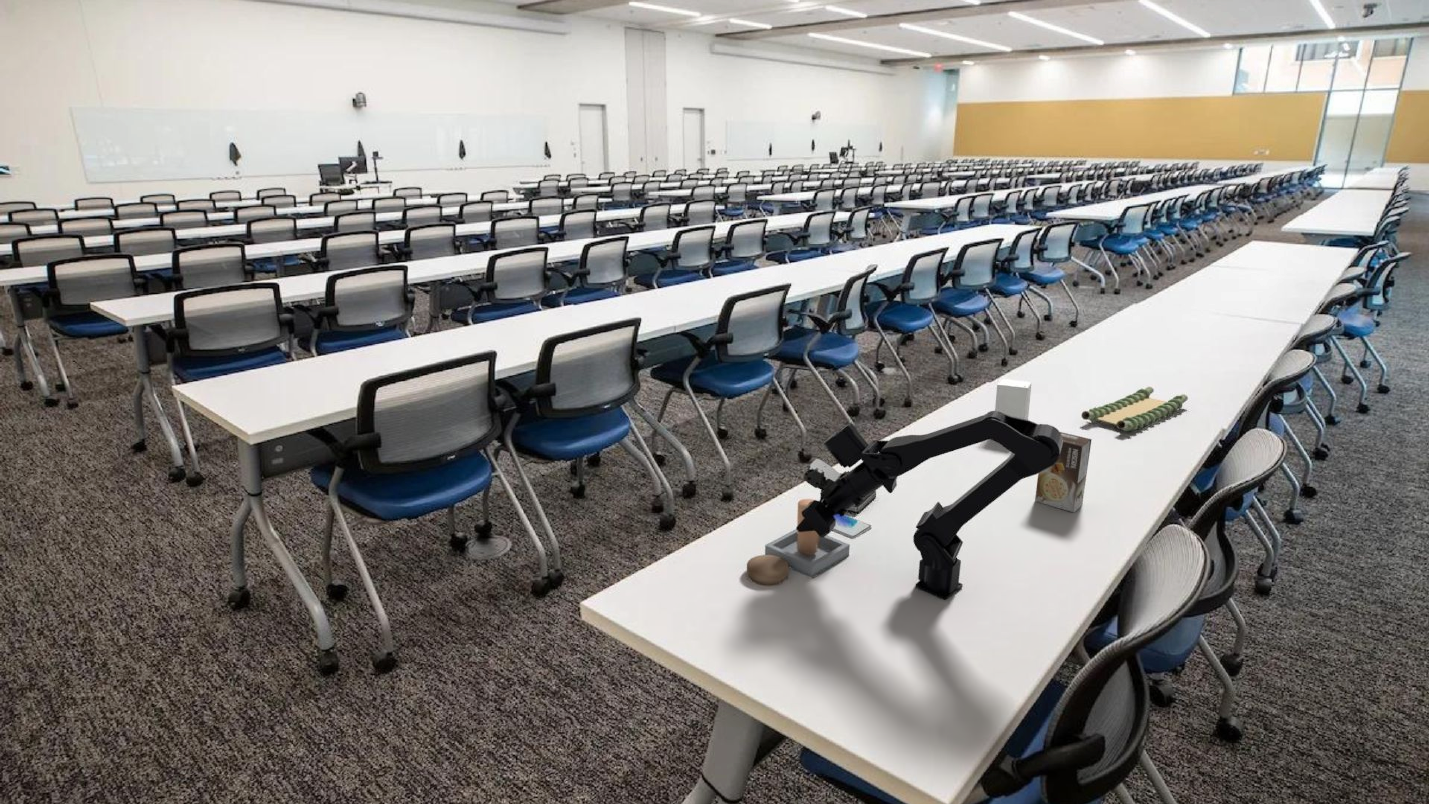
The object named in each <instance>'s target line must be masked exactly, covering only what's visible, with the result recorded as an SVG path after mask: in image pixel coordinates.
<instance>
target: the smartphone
mask: <svg viewBox="0 0 1429 804" xmlns="http://www.w3.org/2000/svg"><path fill="white" fill-rule="evenodd" d="M834 518H835V519H836V525H835V527H834V528H833V529H832V530H833V532H835V533H837V534H840V533H841V534H840V535H842V534H843V535H842V536H845V537H847V536H848V537H847V538H850V539H857V538H859V537H860V536H861V534H862V535H863V534H865V533H866V532H868V531H870V530H871V529H872V525H871V524H869V523H866V522H864V521H861V520H858V519H856V518H853V517H850V516H847V515H846V514H845V515H843V516H842V517H841V516H840V515H839V514H837V515H834ZM856 537H857V538H856Z"/></svg>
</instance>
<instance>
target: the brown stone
mask: <svg viewBox="0 0 1429 804" xmlns="http://www.w3.org/2000/svg"><path fill="white" fill-rule="evenodd" d="M746 577H747V579H748V580H750V581H751V582H752V583H754V584H758V585H761V586H776V585H780V584H782V583H784V582H785V581H786V580H788V577H789V567H788V563H787V562H786V561H785V560H784V559H782V558H780V557H778V556H773V555H765V554H762V555H761V554H760V555H756V556H753V557H751V558H750V559H749V560H748V561H747V562H746Z"/></svg>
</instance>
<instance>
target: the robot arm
mask: <svg viewBox="0 0 1429 804" xmlns="http://www.w3.org/2000/svg"><path fill="white" fill-rule="evenodd" d="M1060 432H1061V431H1060V430H1059V429H1058V428H1057V427H1055V426H1054V425H1051V424H1042V423H1036V422H1033V421H1031V420H1029V419H1028V420H1026V419H1021V418H1017V417H1013V416H1009V415H1006V414H1004V413H1002V412H999V411H995V410H991V411H989V412H987V413H985V414H984V415H983V414H982V415H980V416H977V417H974V418H970V419H968V420H965V421H962V422H960V423H959V422H958V423H956V424H953V425H950V426H948V427H945V428H941V429H938V430H935V431H933V432H929V433H926V434H909V435H908V434H907V435H902V436H901V435H900V436H896V437H892V438H890V439H889V440H883V439H882V440H881V439H879V440H876V439H874V440H871V441H870V442H869V443H868V442H867V441H866V440H865V438H864V437H863V436H862V434H861V433H860V432H859V431H858V429H857V427H856V426H855V425H854V424H853V422H849V424H847V425H845V426H843V428H842V427H841V428H839V429H838V430H837V431H836V432H834V433H833V434H832V435H831V436H829V438H827V439H826V440H824V442H823V443H822V445H823V446H824V448H825V449H826V450H827V451H828V452H829V454H830V455H831V456H832V457H833V458H834V459H835V461H836V462H837V464H839V465H840V466H841V467H842V468H844V469H846V468H847V467H848V468H851V467H853V466H855V465H856V464H857V463H858V462H859V461H862V462H861V463H859V464H858V465H856V466H855V467H854V468H852V469H850V470H847V471H846V470H845V471H843V472H842V473H841V472H839V471H837V470H836V469H835V468H834V467H833V466H831V465H829V464H828V463H826V462H825V461H823V460H821V459H818V458H816V459H814V460H813V461H812V462H811V463H810V464H809V466H808V467H807V470H806V471H805V472H804V475H803V480H804V481H805V482H806V483H807V484H808V485H810V486H812V487H813V488H815V489H819V490H820V493H819V494H820V498H819V500H818V499H817V500H816V499H813V500H814V501H812V502H810V503H809V504H808V505H807V506H806V507H805V508H804V510H803V511H802V512H801V513H802V516H803V517H804V519H803V520H802V521H801V523H800V524H799V525H798V526H797V525H796V528H795V529H797V530H798V532H806V531H816V533H817V534H818V535H819V536H820V537H822V538H823V537H825V536H826V535H829V534H830V533H831V532H832V529H833V528H834V527H835V525H836V519H835V518H834V515H837V514H839V515H840V516H841V517H842V516H843V515H845V516H846V514H847V513H848V512H847V510H849V509H850V508H852V507H853V506H855V505H856V506H857V505H859V504H860V503H861V502H862V501H863V499H864V498H866V497H867V496H869V495H870V494H871V493H873V492H874V491H876V492H877V490H878V489H880V488H881V487H883V488H884V489H885V490H886V491H887V493H888V494H892V493H893V492H894V490H895V489H896V487H897V485H898V484H897V479H898V477H900V476H902V475H904V474H905V473H908V472H909V471H911V470H914V469H915V468H916V467H919V465H921V464H922V463H925V462H926V461H928V460H930V459H931V458H935V457H938V456H942V455H945V454H947V453H950V452H954V451H957V450H960V449H964V448H967V447H970V446H973V445H976V444H979V443H982V442H985V441H989V440H991V441H994V442H995V443H997V444H999V445H1001V446H1002V447H1003V448H1005V449H1006V450H1008V451H1009V452H1011V453H1010V455H1009V456H1008V457H1007V458H1006V459H1005V460H1004V461H1003V462H1001V463H1000V464H999V465H998V466H996V467H995V468H994V469H993V470H992V471H990V472H989V473H988V474H987V475H986V476H984V477H982V479H981V480H979V481H978V482H977V483H976V484H975V485H973V486H972V487H971V488H970V489H968V490H967V491H966V492H965V493H963V494H962V495H961V496H960V497H958V499H957V500H955V501H954V502H953V503H950V504H948V505H946V506H943V505H942V504H941V503H940V501H937V502H936V503H935V504H934V506H933V507H932V508H931V509H930V510H927V511H924V512H923V514H922V515H921V518H919V521H918V522H917V524H916V526H915V528H916V531H915V532H914V534H913V538H912V539H913V541H912V542H913V545H914V547H915V548H916V549H917V551H919V553H920V556H921V560H919V565H918V577H917V578H918V580H919V581H917V582H916V583H915V585H914V586H915V588H917V589H919V590H922V591H924V592H926V593H929V594H932V595H933V596H935V597H938V598H939V599H943V600H947V599H949V598H950V597H951V596H952V595H954V594H955V593H957V592H958V591H959V590H961V589H962V588H963V583H962V582H960V574H961V566H962V565H961V564H962V560H961V559H958V555H959V553H960V550H961V548H962V545H964V544H963V543H964V542H963V540H962V539H961V538H960V537H959V535H958V533H959V531H960V530H961V529H962V527H963V526H964V525H965V524H967V523H968V522H969V521H971V520H972V519H973V518H974V517H976V516H977V515H978V514H979V513H981V512H982V511H983V510H984V509H986V508H987V507H988V506H989V505H991V504H992V503H994V501H996V500H998V498H999V497H1001V496H1002V495H1004V493H1006V492H1007V491H1008V490H1010V489H1011V488H1013V486H1015V485H1016V484H1017V483H1019V482H1020V481H1021V480H1024V479H1025V478H1029V477H1032V476H1035V475H1038V473H1040V472H1042V471H1044V470H1045V469H1047V468H1049V467H1051V466H1053V465H1054V464H1055V463H1056V462H1057V461H1058V459H1059V456H1060V452H1061V448H1062V444H1063V438H1062V435H1061V433H1060Z"/></svg>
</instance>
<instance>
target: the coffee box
mask: <svg viewBox="0 0 1429 804" xmlns="http://www.w3.org/2000/svg"><path fill="white" fill-rule="evenodd" d="M1059 432H1060V433H1061V435H1062V438H1063V444H1062V448H1061V452H1060V456H1059V459H1058V461H1057V462H1056V463H1055V464H1054V465H1053V466H1051V467H1049V468H1047V469H1045V470H1044V471H1042V472H1040V473H1038V474H1037V480H1036V481H1037V482H1036V491H1035V497H1034V502H1036V503H1040V504H1044V505H1045V506H1046V505H1047V506H1050V507H1053V508H1057V509H1060V510H1065V511H1068V512H1071V513H1076V511H1077V510H1078V509H1080V508H1081V507H1082V506H1083V505H1084V494H1085V489H1086V487H1085V486H1086V482H1087V481H1086V480H1087V473H1088V468H1089V467H1088V466H1089V460H1090V453H1091V446H1092V440H1093V439H1092V438H1088V437H1087V438H1086V437H1083V436H1079V435H1076V434H1075V435H1074V434H1072V433H1071V434H1069V433H1068V432H1062V431H1059Z"/></svg>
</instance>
